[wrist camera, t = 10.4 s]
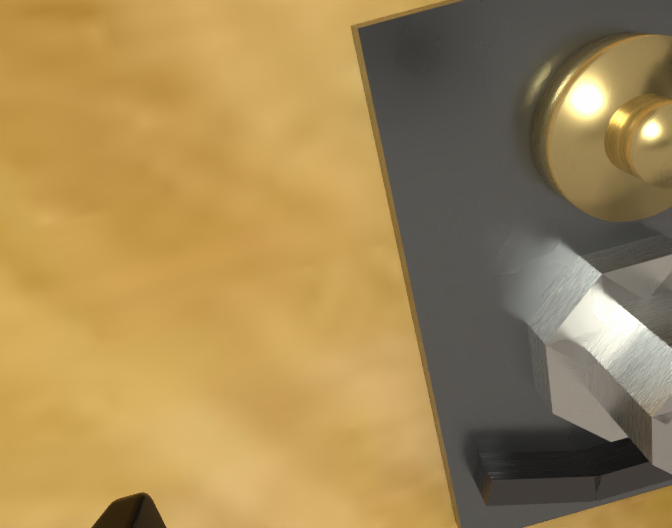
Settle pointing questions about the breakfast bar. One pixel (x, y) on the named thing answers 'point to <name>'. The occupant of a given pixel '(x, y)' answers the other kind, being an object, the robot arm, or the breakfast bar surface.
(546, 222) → the carrier
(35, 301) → the breakfast bar surface
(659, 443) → the octagonal pipe fitting
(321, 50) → the breakfast bar surface
